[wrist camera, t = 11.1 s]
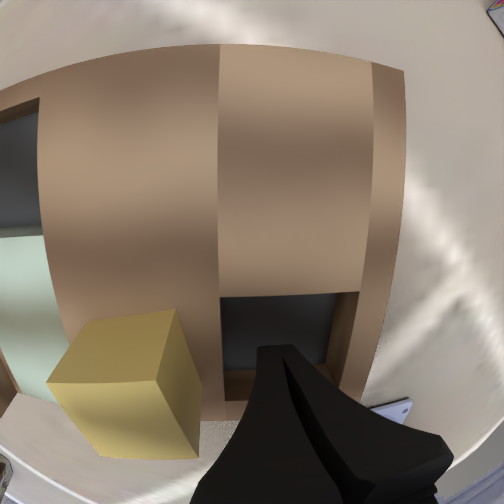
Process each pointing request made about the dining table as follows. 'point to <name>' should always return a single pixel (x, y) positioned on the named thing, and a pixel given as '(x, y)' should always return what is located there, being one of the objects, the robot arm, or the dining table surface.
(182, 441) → the cube
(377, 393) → the dining table surface
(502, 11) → the ink cartridge box
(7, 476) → the coffee box
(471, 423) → the dining table surface
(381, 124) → the board
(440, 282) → the dining table surface
